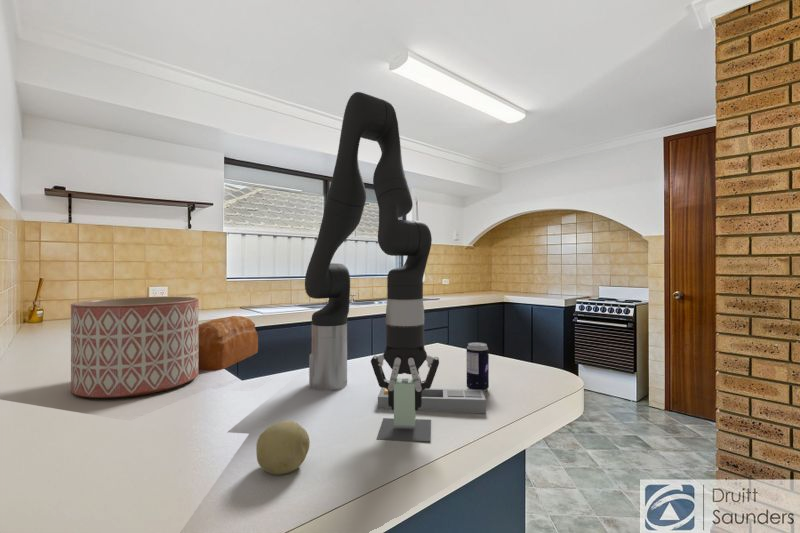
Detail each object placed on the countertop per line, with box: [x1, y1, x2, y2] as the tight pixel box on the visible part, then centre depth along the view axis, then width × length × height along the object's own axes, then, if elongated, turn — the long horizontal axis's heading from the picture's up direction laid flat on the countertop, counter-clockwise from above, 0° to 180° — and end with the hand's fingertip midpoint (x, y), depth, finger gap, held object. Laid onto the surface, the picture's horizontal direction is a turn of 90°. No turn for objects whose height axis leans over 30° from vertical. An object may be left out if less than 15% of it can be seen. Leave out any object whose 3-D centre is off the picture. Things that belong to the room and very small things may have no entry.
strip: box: [377, 387, 487, 414], centre depth 90 cm, size 24×7×4 cm, turn 85°
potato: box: [255, 420, 311, 476], centre depth 61 cm, size 8×8×8 cm
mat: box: [376, 417, 432, 444], centre depth 77 cm, size 10×10×1 cm
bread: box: [198, 315, 259, 371], centre depth 128 cm, size 14×26×16 cm, turn 174°
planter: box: [70, 296, 199, 399], centre depth 102 cm, size 27×27×24 cm
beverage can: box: [466, 341, 490, 393], centre depth 102 cm, size 6×6×12 cm
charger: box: [393, 377, 417, 426], centre depth 77 cm, size 4×4×8 cm
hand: (405, 408), depth 77 cm, fingers closed on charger, 3 cm apart
